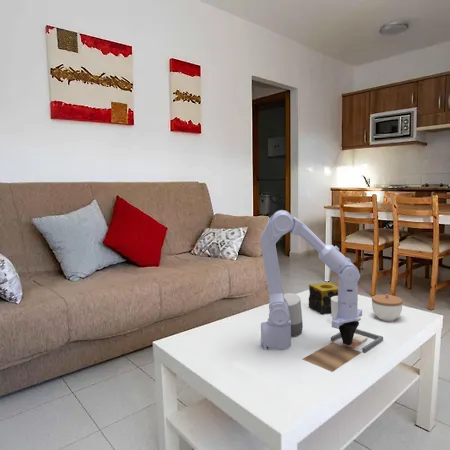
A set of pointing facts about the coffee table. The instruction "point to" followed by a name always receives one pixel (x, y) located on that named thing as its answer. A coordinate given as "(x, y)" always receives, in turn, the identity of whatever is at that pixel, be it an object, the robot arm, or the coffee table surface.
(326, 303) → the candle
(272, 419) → the coffee table surface
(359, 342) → the terracotta tile
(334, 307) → the white cup
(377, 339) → the tray
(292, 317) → the smart speaker
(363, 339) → the cream tile
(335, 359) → the brown wooden board
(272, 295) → the robot arm
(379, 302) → the lidded jar
